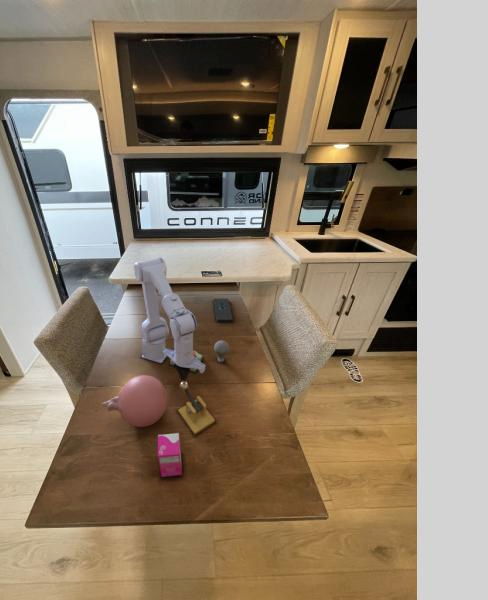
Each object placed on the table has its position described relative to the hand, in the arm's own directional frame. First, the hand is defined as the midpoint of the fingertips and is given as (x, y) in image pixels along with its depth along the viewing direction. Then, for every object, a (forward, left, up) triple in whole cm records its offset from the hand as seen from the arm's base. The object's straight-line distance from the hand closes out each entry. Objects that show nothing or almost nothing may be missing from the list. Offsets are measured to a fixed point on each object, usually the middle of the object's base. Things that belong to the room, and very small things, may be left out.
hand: (184, 378), depth 88 cm
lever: (+3, -3, -5) cm, 7 cm away
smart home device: (-3, +58, -11) cm, 59 cm away
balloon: (-12, -12, -11) cm, 20 cm away
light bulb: (+6, +23, -11) cm, 26 cm away
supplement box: (+5, -22, -11) cm, 25 cm away
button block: (-7, +17, -11) cm, 21 cm away
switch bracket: (+6, -5, -11) cm, 13 cm away
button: (-5, +17, -7) cm, 19 cm away
